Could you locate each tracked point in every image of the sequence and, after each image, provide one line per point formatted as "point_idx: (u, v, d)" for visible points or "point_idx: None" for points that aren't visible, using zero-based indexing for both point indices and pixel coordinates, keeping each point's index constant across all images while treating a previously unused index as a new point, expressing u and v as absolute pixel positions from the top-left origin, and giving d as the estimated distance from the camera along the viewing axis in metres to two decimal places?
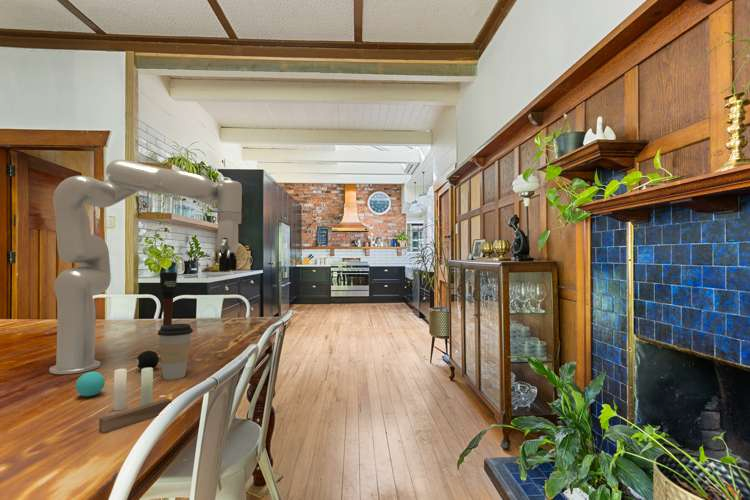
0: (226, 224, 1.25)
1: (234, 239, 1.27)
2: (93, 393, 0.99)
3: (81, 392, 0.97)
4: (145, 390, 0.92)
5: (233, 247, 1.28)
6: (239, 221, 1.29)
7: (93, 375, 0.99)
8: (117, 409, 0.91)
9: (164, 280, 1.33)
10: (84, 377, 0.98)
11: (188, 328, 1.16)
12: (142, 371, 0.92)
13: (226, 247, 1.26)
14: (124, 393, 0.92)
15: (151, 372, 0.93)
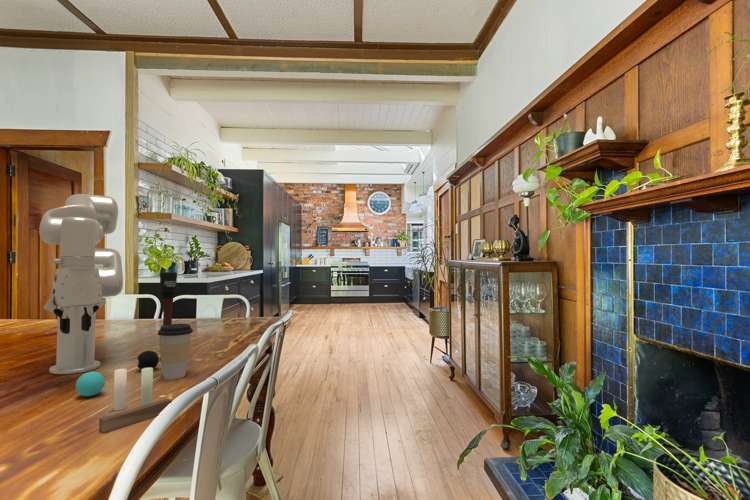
0: None
1: None
2: (93, 393, 0.99)
3: (81, 392, 0.97)
4: (145, 390, 0.92)
5: None
6: None
7: (93, 375, 0.99)
8: (117, 409, 0.91)
9: (164, 280, 1.33)
10: (84, 377, 0.98)
11: (188, 328, 1.16)
12: (142, 371, 0.92)
13: None
14: (124, 393, 0.92)
15: (151, 372, 0.93)
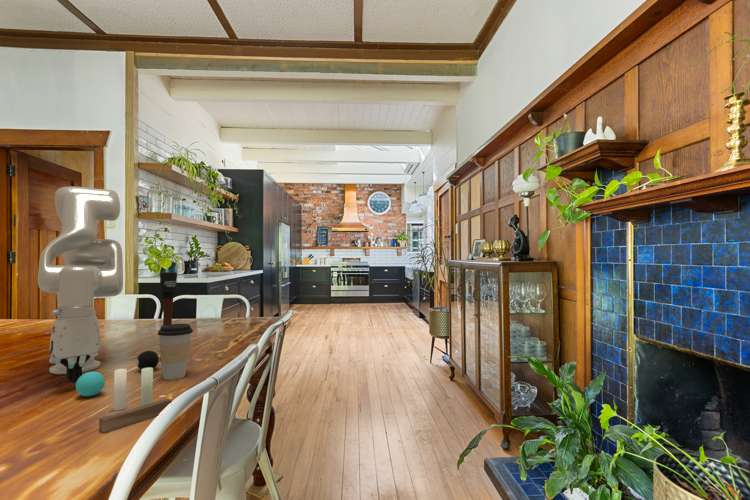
0: None
1: None
2: (93, 393, 0.99)
3: (81, 392, 0.97)
4: (145, 390, 0.92)
5: None
6: None
7: (93, 375, 0.99)
8: (117, 409, 0.91)
9: (164, 280, 1.33)
10: (84, 377, 0.98)
11: (188, 328, 1.16)
12: (142, 371, 0.92)
13: None
14: (124, 393, 0.92)
15: (151, 372, 0.93)
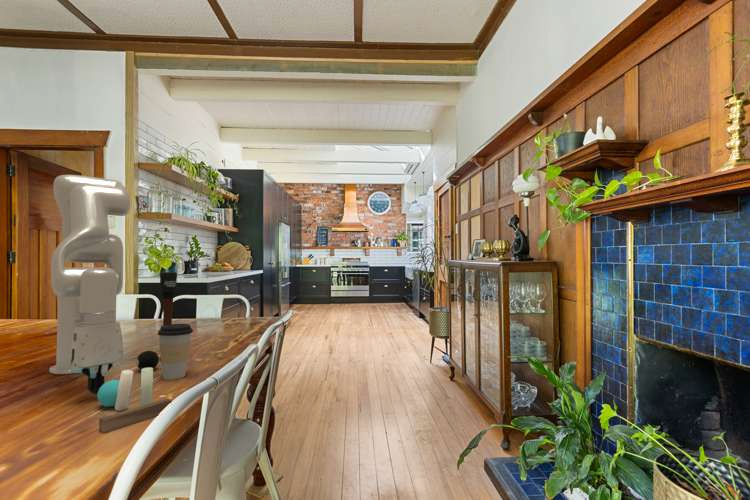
0: None
1: None
2: (109, 381, 0.94)
3: (100, 388, 0.92)
4: (145, 390, 0.92)
5: None
6: None
7: None
8: (118, 409, 0.90)
9: (164, 280, 1.33)
10: None
11: (188, 328, 1.16)
12: (142, 371, 0.92)
13: None
14: (127, 395, 0.91)
15: (151, 372, 0.93)
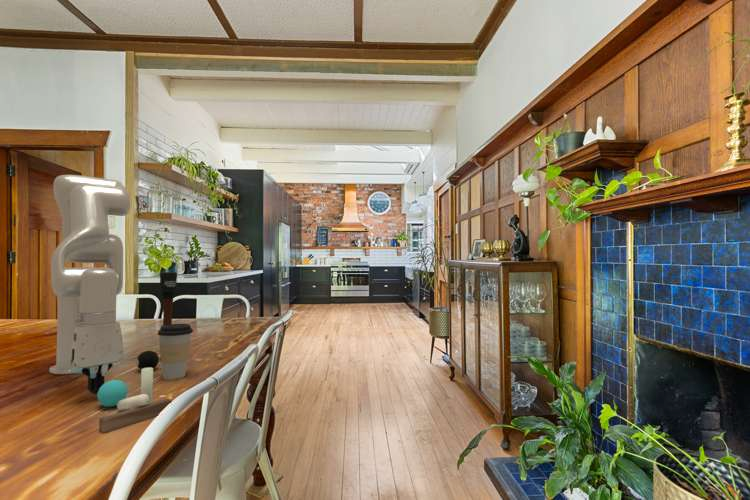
0: None
1: None
2: (109, 381, 0.94)
3: (100, 388, 0.92)
4: (145, 390, 0.92)
5: None
6: None
7: None
8: (119, 409, 0.90)
9: (164, 280, 1.33)
10: None
11: (188, 328, 1.16)
12: (142, 371, 0.92)
13: None
14: None
15: (151, 372, 0.93)
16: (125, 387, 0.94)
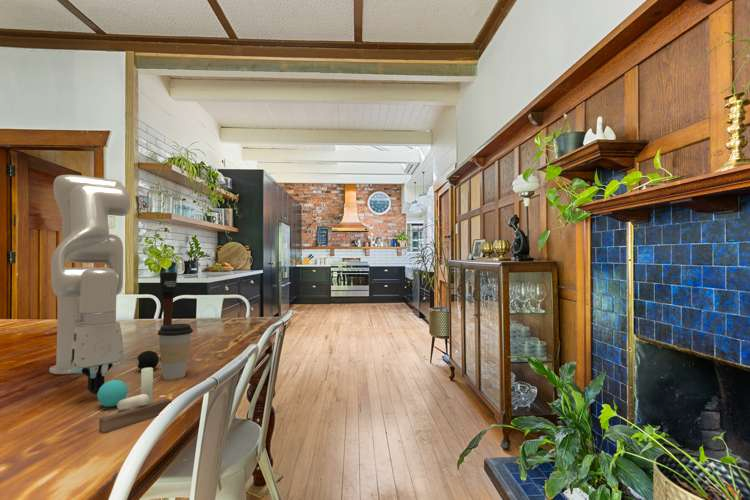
0: None
1: None
2: (109, 381, 0.94)
3: (100, 388, 0.92)
4: (145, 390, 0.92)
5: None
6: None
7: None
8: (119, 409, 0.90)
9: (164, 280, 1.33)
10: None
11: (188, 328, 1.16)
12: (142, 371, 0.92)
13: None
14: None
15: (151, 372, 0.93)
16: (125, 387, 0.94)
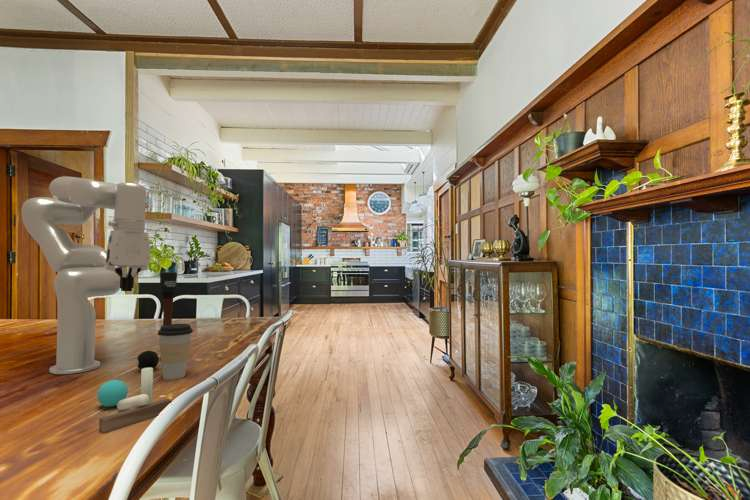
0: None
1: None
2: (109, 381, 0.94)
3: (100, 388, 0.92)
4: (145, 390, 0.92)
5: None
6: None
7: None
8: (119, 409, 0.90)
9: (164, 280, 1.33)
10: None
11: (188, 328, 1.16)
12: (142, 371, 0.92)
13: None
14: None
15: (151, 372, 0.93)
16: (125, 387, 0.94)
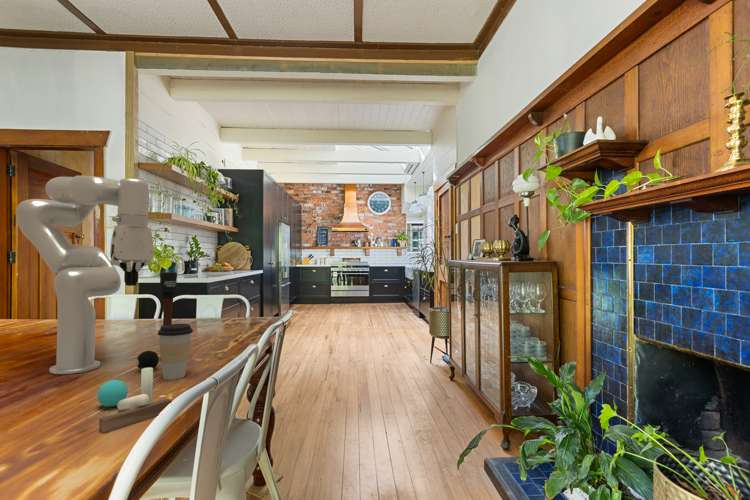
0: None
1: None
2: (109, 381, 0.94)
3: (100, 388, 0.92)
4: (145, 390, 0.92)
5: None
6: None
7: None
8: (119, 409, 0.90)
9: (164, 280, 1.33)
10: None
11: (188, 328, 1.16)
12: (142, 371, 0.92)
13: None
14: None
15: (151, 372, 0.93)
16: (125, 387, 0.94)
